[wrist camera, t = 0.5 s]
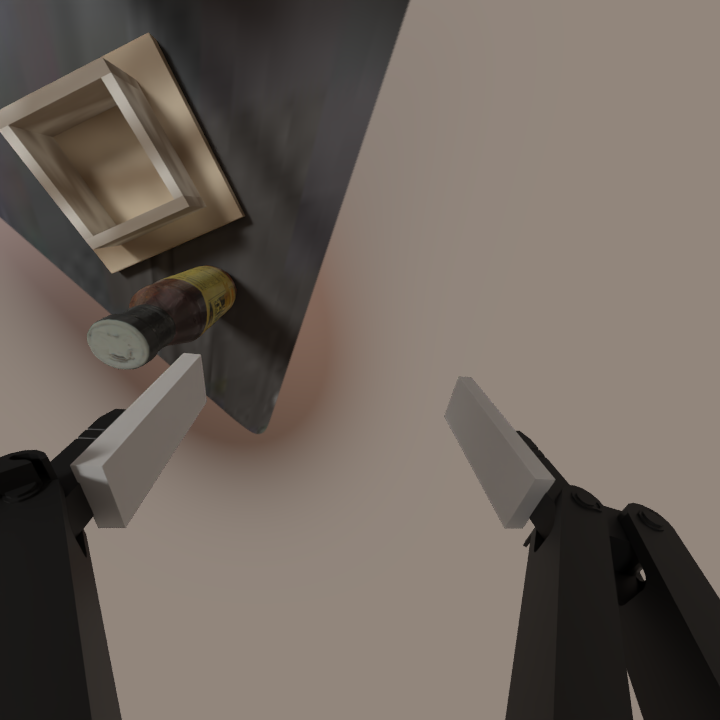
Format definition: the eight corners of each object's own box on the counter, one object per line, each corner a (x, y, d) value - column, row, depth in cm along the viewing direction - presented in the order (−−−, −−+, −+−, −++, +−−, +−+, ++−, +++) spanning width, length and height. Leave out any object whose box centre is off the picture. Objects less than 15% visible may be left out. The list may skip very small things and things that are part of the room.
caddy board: (0, 119, 29) (-70, 99, 24) (155, 39, 27) (115, 0, 22) (118, 271, 36) (83, 281, 31) (245, 216, 34) (230, 217, 29)
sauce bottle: (220, 318, 40) (132, 403, 22) (180, 285, 37) (45, 351, 20) (250, 287, 38) (181, 351, 21) (210, 250, 36) (93, 288, 18)
